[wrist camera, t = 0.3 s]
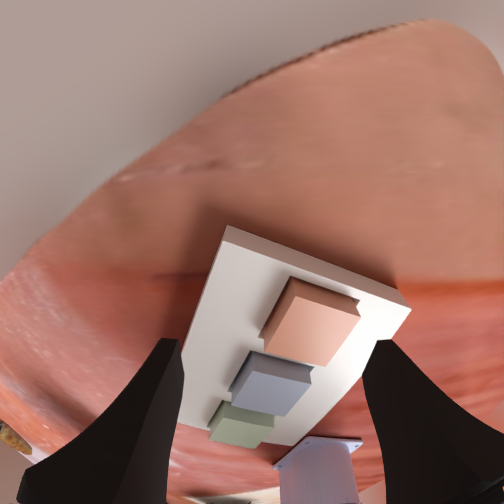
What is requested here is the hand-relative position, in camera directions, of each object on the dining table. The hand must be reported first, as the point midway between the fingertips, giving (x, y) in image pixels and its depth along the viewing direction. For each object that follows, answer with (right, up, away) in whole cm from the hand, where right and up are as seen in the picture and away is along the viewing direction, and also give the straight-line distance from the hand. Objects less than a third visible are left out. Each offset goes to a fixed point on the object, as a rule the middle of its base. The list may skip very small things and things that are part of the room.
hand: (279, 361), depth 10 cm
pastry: (-50, -34, +26) cm, 66 cm away
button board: (0, -4, +12) cm, 13 cm away
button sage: (-2, -10, +13) cm, 17 cm away
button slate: (0, -5, +11) cm, 12 cm away
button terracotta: (+3, 0, +9) cm, 9 cm away
